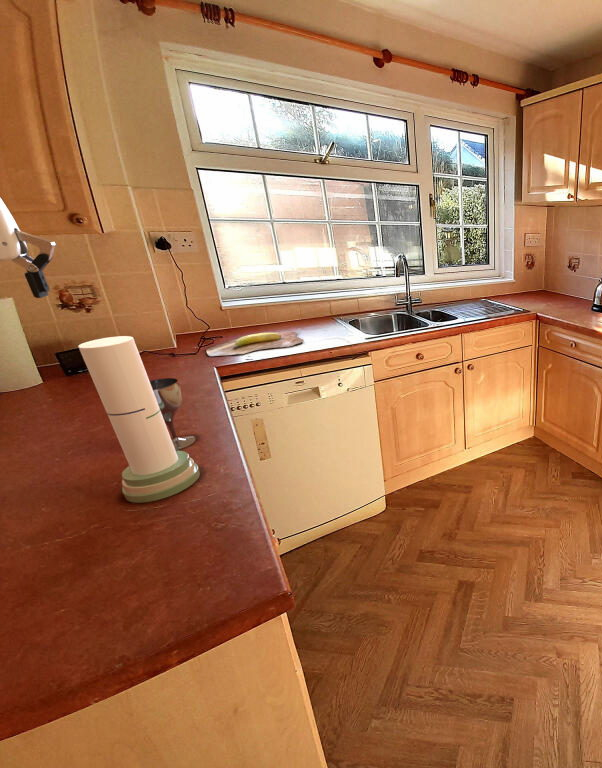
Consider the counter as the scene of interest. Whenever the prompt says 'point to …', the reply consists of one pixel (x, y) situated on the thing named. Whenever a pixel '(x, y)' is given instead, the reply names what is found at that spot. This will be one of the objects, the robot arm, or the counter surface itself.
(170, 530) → the counter surface
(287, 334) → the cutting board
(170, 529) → the counter surface
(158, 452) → the cylindrical container
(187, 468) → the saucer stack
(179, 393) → the wine glass
